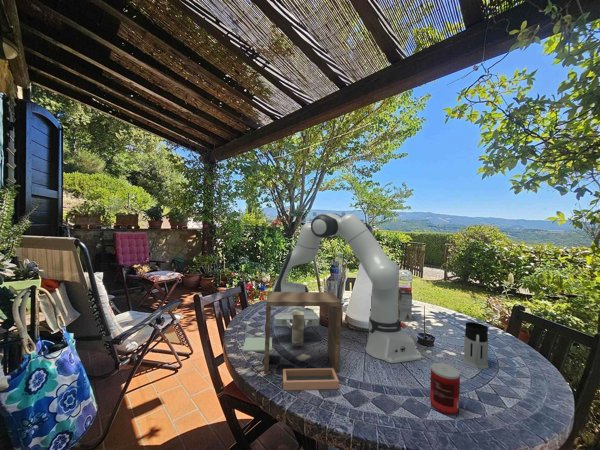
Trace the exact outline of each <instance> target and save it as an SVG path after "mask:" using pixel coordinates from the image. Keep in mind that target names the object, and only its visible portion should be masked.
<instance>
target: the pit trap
mask: <svg viewBox="0 0 600 450" xmlns="http://www.w3.org/2000/svg"><path fill="white" fill-rule="evenodd" d="M282 387H283V388H282V390H283V391H305V390H306V391H309V390H310V391H311V390H339V387H340V380H339V378H338V376H337V373H335V370H334V368H333V367H325V368H324V367H321V368H319V367H316V368H315V367H314V368H312V367H311V368H282Z"/></svg>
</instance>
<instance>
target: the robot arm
mask: <svg viewBox="0 0 600 450" xmlns="http://www.w3.org/2000/svg"><path fill="white" fill-rule="evenodd" d="M337 235H340V236H341V237H342V238H343V239H344V241H345V242H346V243H347V245H348V247H349V248H350V249H351V250H352V252H353V253H354V255H355V256H356V258H357V259H358V260H359V263H360V264H361V266H362V268H363V270H364V271H365V273H366V275H367V277H368V278H369V281H370V282H371V283H372V285H371V286H372V288H371V295H370V296H371V309H370V312H369V314H370V315H369V318H368V337H367V342H366V345H365V348H364V350H365V352H366V353H367V355H369V356H371V357H373V358H375V359H379V360H383V361H384V362H387V363H390V364H396V363H403V362H404V363H405V362H412V361H419V360H422V354H421V352H420V351H419V350H418V349H417V348H416V344H415V341H414V339H413V338H412V336H410V335H409V334H408V333H407V332H405V330H403V329H406V328H407V324H406V323H404V321H400V319H399V318H398V295H399V290H400V289H399V288H400V287H399V286H400V269H399V266H398V264H397V263H396V262H395V261H394V260H392V259H389V257H388V255H387V254H386V253H385V251H384V250H383V248H382V246H381V244H380V243H379V242H378V240H377V239H376V237H375V236H374V235H373V233H372V232H371V231H370V230H369V229H368V227H367V225H365V223H364V222H363V221H362V220H361V219H360V218H359V217H358V216H357V215H355V214H353V213H348V214H345V215H343V216H341V215H340V214H338V213H330V212H328V213H322V214H318V215H316V216H315V217H313V219H312V220H311V222H306V223H304V224H303V225H302V227H301V229H300V231H299V234H298V237H297V243H296V245H295V247H294V249H292V251H289V252H288V253H287V254H286V256H285V258H284V261H283V264H282V266H281V268H280V271H279V274H278V276H277V277H276V281H274V282H275V283H274V284H273V286H272V290H271V292H310V291H309V288H308V287H307V285H306V284H303V283H299V282H291V281H286V279H287V278H288V275H289V274H290V270H291V268H294V267H295V266H298V265H304V264H307V263H310V262H312V261H314V260H315V259H316V257H317V255H318V253H319V249H320V245H321V241H322V239H326V238H333V237H335V236H337ZM315 256H316V257H315ZM293 311H303V313H304V329H307V327H318V326H320V316H319V315H318V313H316V312H315V310H314V309H313V308H308V307H306V306H285V312H279V313H276V314H275V315H274V316H273V320H274V326H276V327H289V328H288V329H292V328H293V323H292V321H293Z"/></svg>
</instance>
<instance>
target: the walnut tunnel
mask: <svg viewBox="0 0 600 450" xmlns="http://www.w3.org/2000/svg"><path fill="white" fill-rule="evenodd" d="M265 302H266V304H265V305H266V307H265V308H266V309H265V331H264V332H265V335H264V338H265V351H264V365H263V366H264V367H263V369H264V370H263V375H269V370H270V368H269V367H270V351H269V345H270V338H271V315H272V314H271V313H272V309H271V308H272V307H286V306H305V307H328V328H327V330H328V331H327V333H328V334H327V356H328V357H327V358H328V359H329V360H330V364H331V366H332V368H334V370H335V373H336V374H338V373H340V360H341V359H340V358H341V353H340V352H341V329H342V327H341V325H342V301H341V299H339V297H338V296H337V295H336V294H335V293H334V292H332V291H331V292H325V291H324V292H320V291H318V292H317V291H312V292H311V291H309V292H272V291H267V293H266V301H265Z"/></svg>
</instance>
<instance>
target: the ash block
mask: <svg viewBox="0 0 600 450" xmlns="http://www.w3.org/2000/svg"><path fill="white" fill-rule="evenodd" d="M292 323H293V328H291V342H292V344H303V343H304V329H305V328H304V313H303V311H293V321H292Z"/></svg>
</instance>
